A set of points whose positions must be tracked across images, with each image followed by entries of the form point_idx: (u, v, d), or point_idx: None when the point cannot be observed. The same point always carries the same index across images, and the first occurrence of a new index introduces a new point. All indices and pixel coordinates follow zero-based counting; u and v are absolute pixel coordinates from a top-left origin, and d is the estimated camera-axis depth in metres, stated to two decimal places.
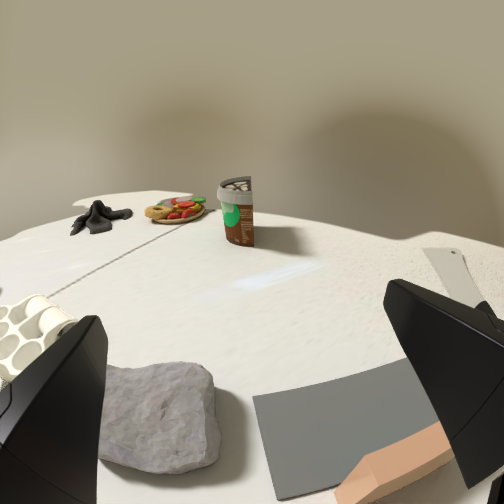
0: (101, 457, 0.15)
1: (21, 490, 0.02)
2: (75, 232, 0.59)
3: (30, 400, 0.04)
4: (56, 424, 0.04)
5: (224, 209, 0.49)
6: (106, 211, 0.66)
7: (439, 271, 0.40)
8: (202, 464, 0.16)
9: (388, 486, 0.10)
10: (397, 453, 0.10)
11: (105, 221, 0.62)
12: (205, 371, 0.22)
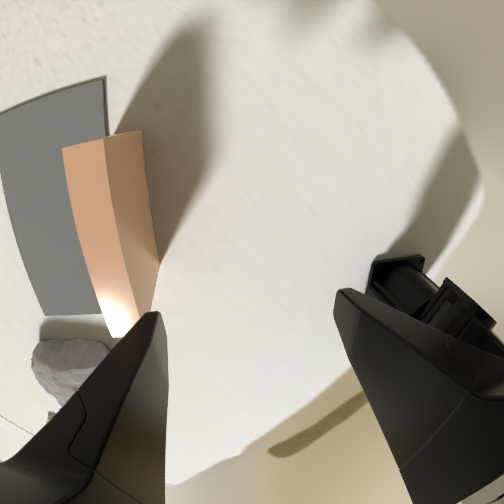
0: None
1: None
2: None
3: (112, 409, 0.04)
4: (137, 431, 0.04)
5: None
6: None
7: None
8: None
9: (144, 289, 0.15)
10: (114, 312, 0.13)
11: None
12: (35, 364, 0.20)
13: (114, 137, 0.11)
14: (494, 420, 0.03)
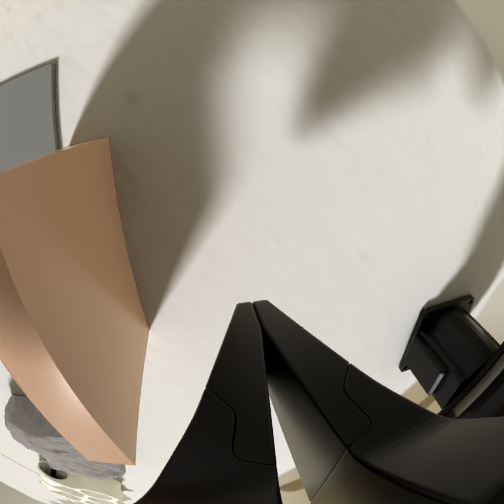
0: (123, 468, 0.19)
1: None
2: None
3: (262, 399, 0.04)
4: None
5: None
6: None
7: None
8: None
9: (125, 398, 0.09)
10: (83, 444, 0.07)
11: None
12: (8, 424, 0.13)
13: (27, 166, 0.05)
14: (372, 491, 0.02)
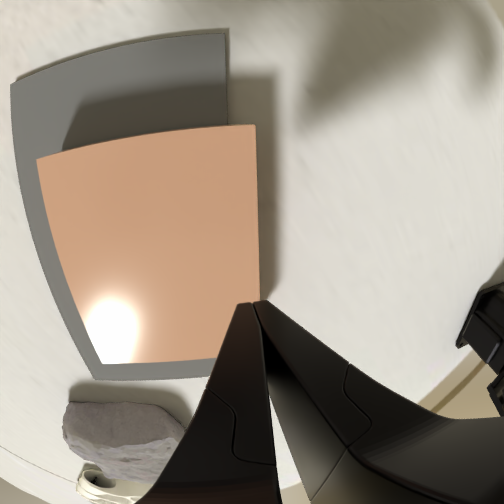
0: None
1: None
2: None
3: (261, 399, 0.04)
4: None
5: None
6: None
7: None
8: (173, 431, 0.17)
9: (134, 341, 0.12)
10: None
11: None
12: (70, 437, 0.14)
13: (71, 152, 0.08)
14: (372, 491, 0.02)
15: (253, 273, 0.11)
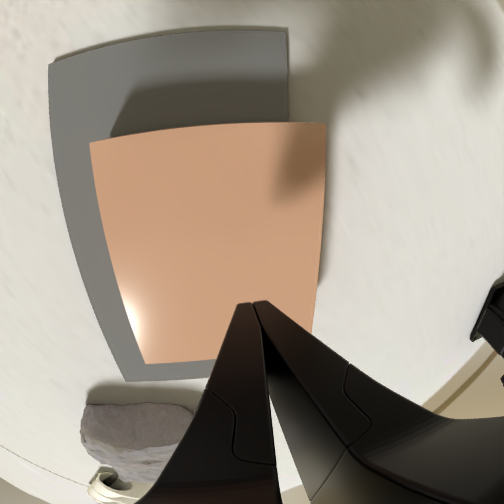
0: None
1: None
2: None
3: (261, 399, 0.04)
4: None
5: None
6: None
7: None
8: None
9: (185, 339, 0.12)
10: None
11: None
12: (90, 441, 0.14)
13: (133, 136, 0.08)
14: (372, 492, 0.02)
15: (313, 266, 0.11)
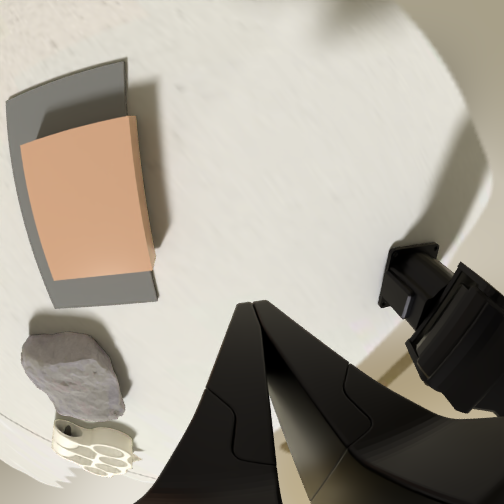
0: (123, 405, 0.25)
1: None
2: None
3: (261, 399, 0.04)
4: None
5: None
6: None
7: None
8: (97, 355, 0.22)
9: (72, 259, 0.17)
10: None
11: None
12: (24, 358, 0.19)
13: (38, 140, 0.13)
14: (373, 491, 0.02)
15: (136, 206, 0.16)
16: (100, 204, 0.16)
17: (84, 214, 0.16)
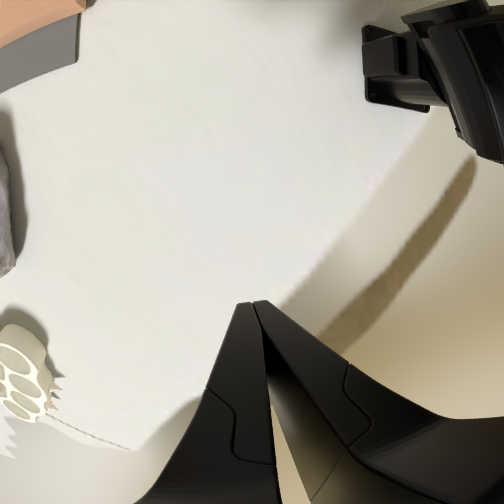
0: (9, 246, 0.16)
1: None
2: None
3: (261, 399, 0.04)
4: None
5: None
6: None
7: None
8: None
9: (9, 16, 0.08)
10: None
11: None
12: None
13: None
14: (372, 492, 0.02)
15: None
16: None
17: None
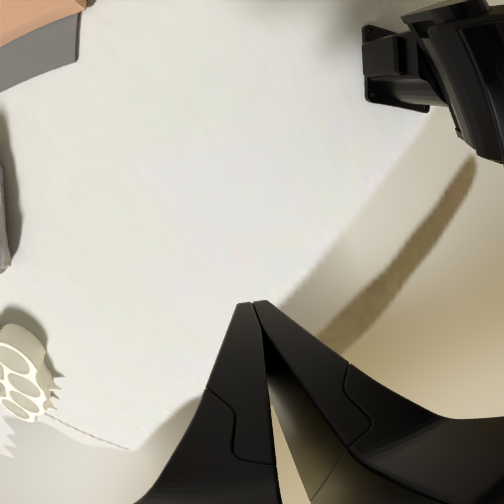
0: (4, 246, 0.16)
1: None
2: None
3: (261, 399, 0.04)
4: None
5: None
6: None
7: None
8: None
9: (9, 15, 0.08)
10: None
11: None
12: None
13: None
14: (373, 491, 0.02)
15: None
16: None
17: None
